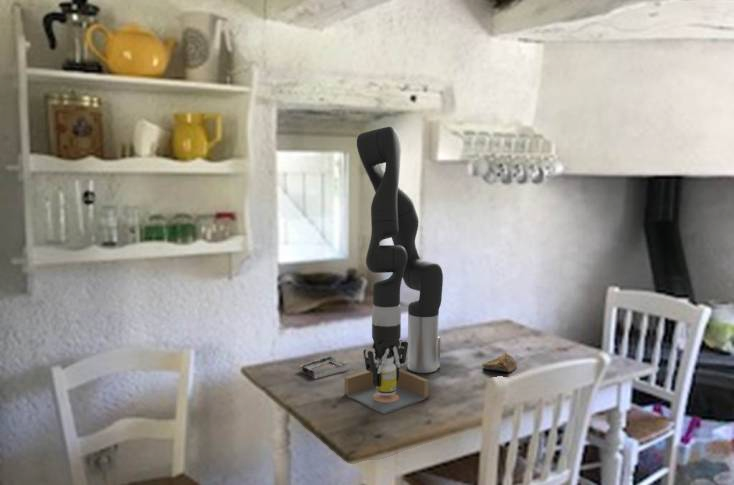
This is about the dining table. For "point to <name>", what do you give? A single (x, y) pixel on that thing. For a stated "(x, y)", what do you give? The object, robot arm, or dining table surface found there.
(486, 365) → the decorative stone
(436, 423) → the dining table surface
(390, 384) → the supplement bottle
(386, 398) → the corner arena
